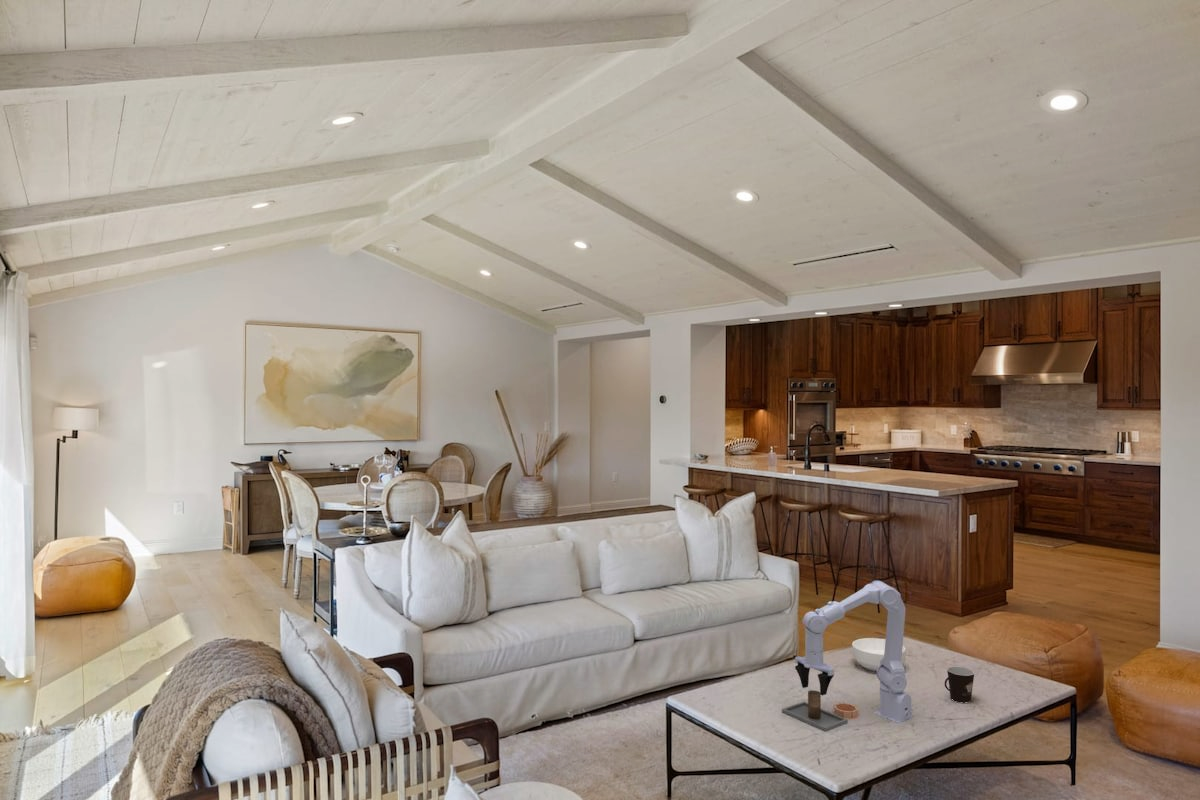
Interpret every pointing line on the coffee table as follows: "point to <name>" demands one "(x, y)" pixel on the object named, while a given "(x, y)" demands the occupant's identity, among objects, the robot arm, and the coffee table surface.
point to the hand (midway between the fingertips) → (814, 690)
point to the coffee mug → (960, 683)
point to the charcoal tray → (824, 723)
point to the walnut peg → (814, 704)
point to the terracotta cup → (846, 710)
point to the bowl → (871, 652)
